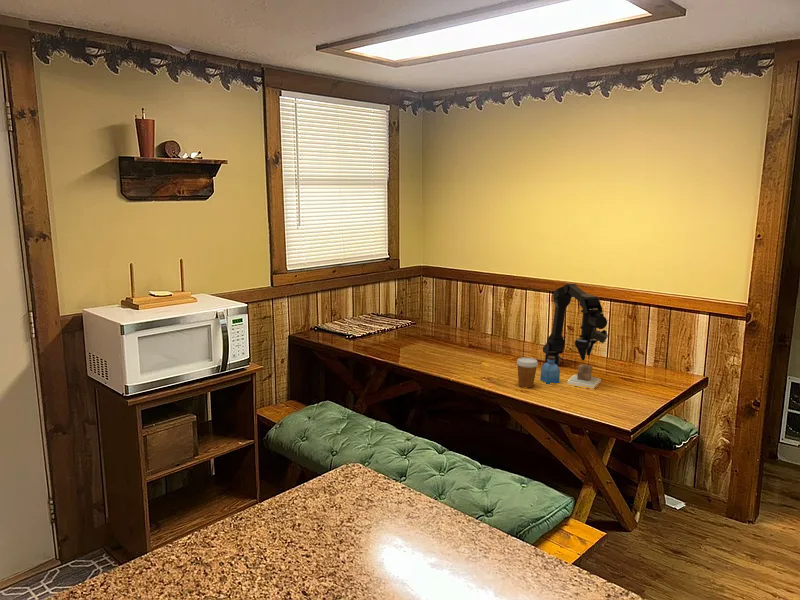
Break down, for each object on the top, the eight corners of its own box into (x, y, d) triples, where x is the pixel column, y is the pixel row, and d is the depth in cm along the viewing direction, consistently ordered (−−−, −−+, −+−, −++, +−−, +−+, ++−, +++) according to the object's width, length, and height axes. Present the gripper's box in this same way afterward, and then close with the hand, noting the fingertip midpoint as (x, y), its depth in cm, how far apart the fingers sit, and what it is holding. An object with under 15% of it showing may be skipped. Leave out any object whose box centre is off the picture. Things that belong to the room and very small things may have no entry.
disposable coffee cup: (521, 381, 284) (523, 356, 282) (540, 385, 278) (542, 360, 276) (511, 386, 277) (512, 360, 275) (530, 390, 271) (532, 364, 269)
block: (577, 379, 281) (578, 366, 280) (580, 376, 285) (581, 363, 284) (588, 381, 278) (589, 368, 277) (591, 378, 282) (592, 365, 281)
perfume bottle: (546, 384, 280) (548, 359, 278) (540, 380, 286) (541, 355, 284) (559, 383, 282) (560, 358, 280) (552, 379, 288) (553, 354, 286)
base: (566, 385, 280) (567, 379, 280) (574, 378, 290) (574, 373, 290) (593, 390, 274) (594, 384, 273) (600, 383, 284) (600, 377, 283)
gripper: (601, 330, 265) (598, 365, 268) (611, 322, 281) (609, 356, 284) (575, 327, 271) (573, 361, 274) (587, 319, 286) (584, 352, 289)
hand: (585, 357), depth 280 cm, fingers open, 9 cm apart
